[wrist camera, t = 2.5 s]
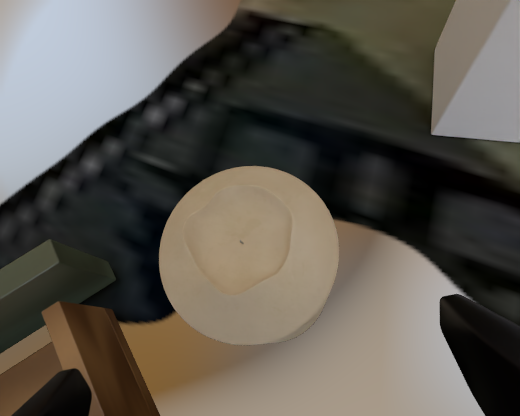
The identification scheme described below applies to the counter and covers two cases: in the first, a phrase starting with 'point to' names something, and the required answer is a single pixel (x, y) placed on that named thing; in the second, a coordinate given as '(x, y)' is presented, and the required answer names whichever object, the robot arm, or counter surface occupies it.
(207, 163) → the counter surface
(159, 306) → the counter surface
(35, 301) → the drawer
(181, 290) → the candle
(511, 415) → the robot arm
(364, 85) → the counter surface
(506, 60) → the milk
